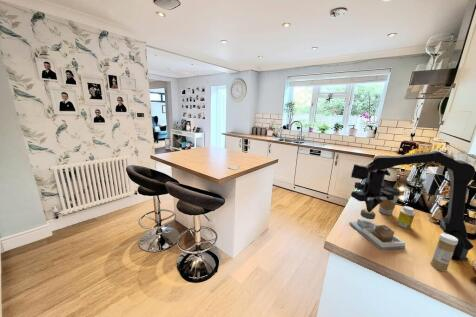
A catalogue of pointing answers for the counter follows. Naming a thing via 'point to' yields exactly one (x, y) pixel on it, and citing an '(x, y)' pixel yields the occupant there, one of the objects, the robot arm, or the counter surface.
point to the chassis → (368, 230)
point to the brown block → (383, 233)
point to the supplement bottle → (406, 217)
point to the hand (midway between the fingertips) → (368, 211)
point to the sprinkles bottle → (444, 251)
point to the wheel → (367, 214)
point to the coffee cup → (388, 201)
